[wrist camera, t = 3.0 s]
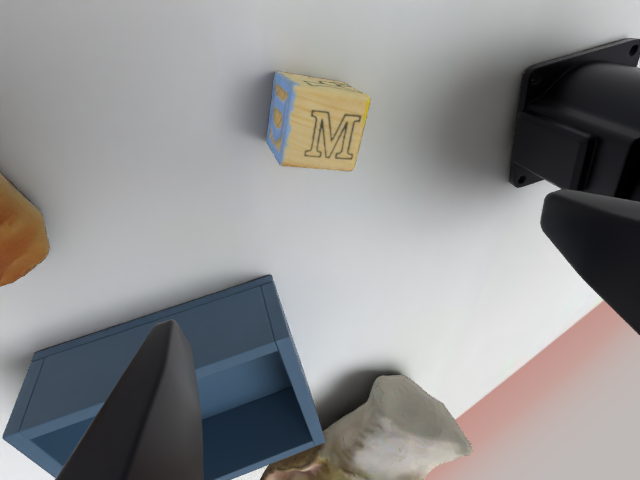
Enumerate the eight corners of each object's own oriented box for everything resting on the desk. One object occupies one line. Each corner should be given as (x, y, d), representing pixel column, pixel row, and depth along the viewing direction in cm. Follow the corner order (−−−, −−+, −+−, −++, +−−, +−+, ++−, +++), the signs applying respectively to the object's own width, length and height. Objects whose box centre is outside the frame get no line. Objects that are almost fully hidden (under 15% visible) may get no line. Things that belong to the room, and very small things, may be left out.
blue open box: (271, 274, 21) (289, 336, 18) (306, 379, 27) (326, 442, 24) (33, 352, 20) (0, 438, 16) (125, 446, 26) (117, 525, 22)
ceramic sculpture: (529, 486, 25) (369, 584, 30) (459, 373, 32) (338, 467, 37) (435, 466, 20) (256, 591, 24) (374, 334, 26) (244, 451, 31)
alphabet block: (274, 67, 16) (291, 84, 13) (345, 79, 17) (374, 97, 14) (264, 141, 17) (278, 168, 15) (330, 148, 18) (353, 175, 16)
